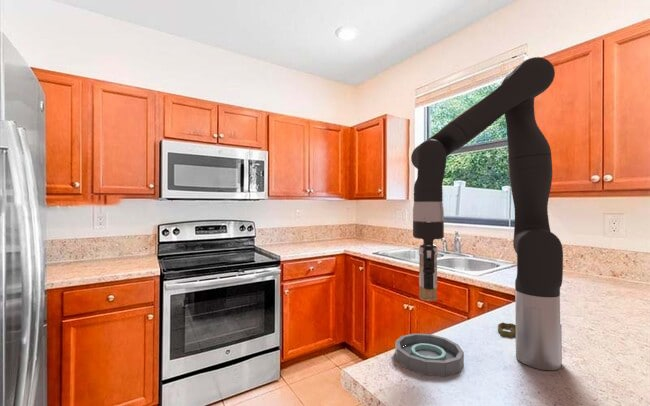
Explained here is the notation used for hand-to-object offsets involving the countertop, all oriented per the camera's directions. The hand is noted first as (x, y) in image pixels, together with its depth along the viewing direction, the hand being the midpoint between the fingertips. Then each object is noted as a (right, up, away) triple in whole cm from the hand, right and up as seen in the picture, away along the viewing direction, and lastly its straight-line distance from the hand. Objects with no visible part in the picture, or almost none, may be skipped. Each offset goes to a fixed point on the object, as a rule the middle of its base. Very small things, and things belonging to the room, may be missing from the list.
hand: (428, 286), depth 79 cm
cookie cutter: (+35, -19, +16) cm, 43 cm away
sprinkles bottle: (0, -3, 0) cm, 3 cm away
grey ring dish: (0, -18, 0) cm, 18 cm away
